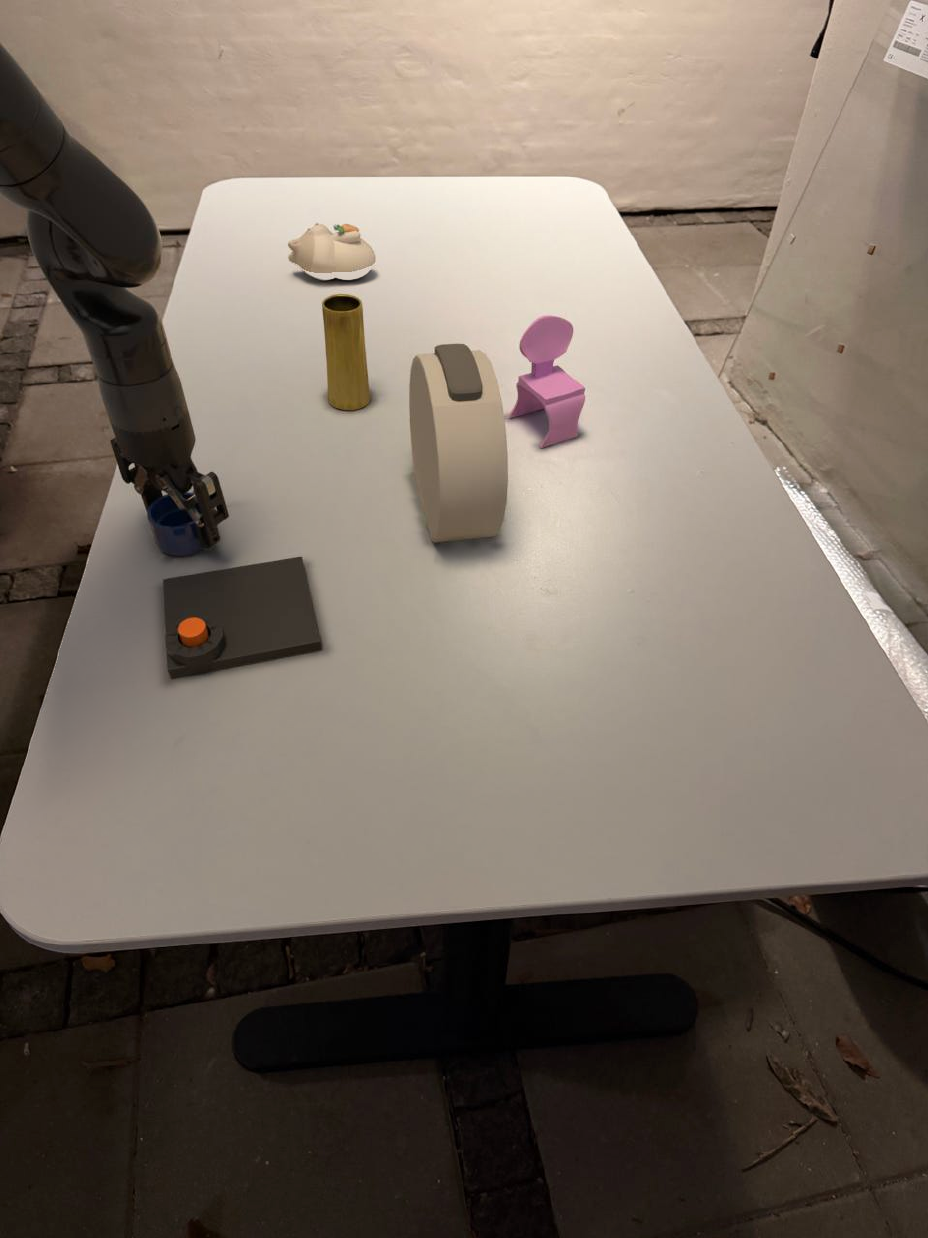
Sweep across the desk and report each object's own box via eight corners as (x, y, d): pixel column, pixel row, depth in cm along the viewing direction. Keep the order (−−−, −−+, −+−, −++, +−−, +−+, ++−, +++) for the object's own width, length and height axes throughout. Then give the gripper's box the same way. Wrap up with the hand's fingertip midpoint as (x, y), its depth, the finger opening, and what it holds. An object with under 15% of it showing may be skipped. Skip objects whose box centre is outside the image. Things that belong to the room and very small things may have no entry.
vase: (371, 410, 110) (366, 313, 99) (328, 412, 109) (318, 314, 98) (369, 387, 114) (364, 291, 103) (327, 388, 113) (317, 292, 102)
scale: (171, 680, 76) (163, 661, 74) (165, 587, 85) (159, 568, 83) (322, 651, 80) (319, 632, 77) (303, 565, 88) (300, 545, 86)
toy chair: (536, 452, 104) (550, 349, 93) (501, 419, 109) (510, 317, 98) (585, 436, 108) (604, 334, 96) (549, 404, 112) (563, 304, 101)
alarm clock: (501, 558, 90) (517, 410, 76) (438, 565, 89) (441, 416, 74) (464, 450, 104) (471, 308, 89) (409, 455, 103) (407, 311, 88)
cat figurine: (377, 218, 132) (287, 209, 128) (379, 260, 130) (288, 252, 127) (371, 254, 141) (287, 247, 137) (373, 294, 139) (288, 288, 136)
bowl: (157, 562, 87) (147, 532, 84) (156, 526, 91) (146, 496, 88) (216, 553, 89) (208, 523, 85) (212, 517, 93) (204, 488, 90)
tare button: (182, 649, 76) (178, 639, 75) (180, 630, 77) (177, 620, 76) (209, 644, 76) (206, 634, 75) (207, 625, 78) (204, 615, 77)
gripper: (68, 400, 77) (116, 523, 89) (168, 451, 72) (204, 574, 84) (128, 368, 82) (166, 490, 94) (226, 415, 77) (253, 537, 89)
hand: (184, 530), depth 89 cm, fingers open, 8 cm apart
